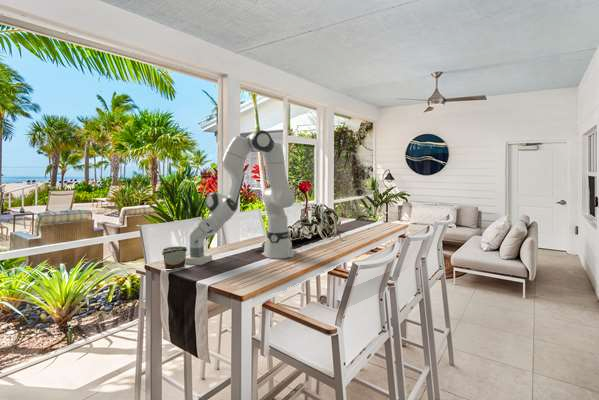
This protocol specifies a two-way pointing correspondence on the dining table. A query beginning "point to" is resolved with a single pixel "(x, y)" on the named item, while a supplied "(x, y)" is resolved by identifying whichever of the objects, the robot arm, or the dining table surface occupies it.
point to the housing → (197, 248)
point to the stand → (198, 259)
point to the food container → (174, 257)
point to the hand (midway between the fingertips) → (196, 241)
